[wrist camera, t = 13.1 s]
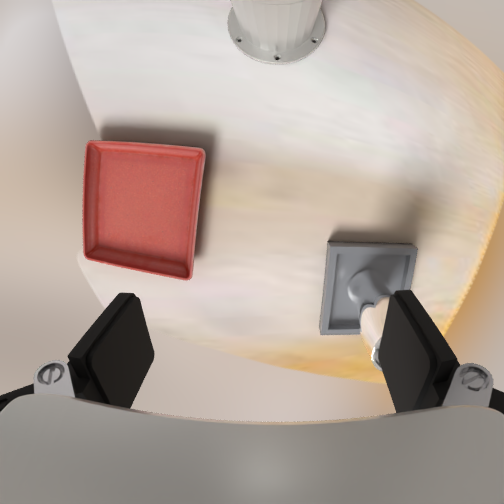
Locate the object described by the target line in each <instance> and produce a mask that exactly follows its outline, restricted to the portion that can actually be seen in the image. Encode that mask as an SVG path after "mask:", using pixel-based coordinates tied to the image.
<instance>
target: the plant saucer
mask: <svg viewBox="0 0 504 504" xmlns="http://www.w3.org/2000/svg"><path fill="white" fill-rule="evenodd" d="M205 158H206V153H205V151H204V149H202V148H198V147H188V146H177V145H166V144H153V143H139V142H123V141H100V140H90V141H88V142H87V144H86V147H85V159H84V176H83V210H82V211H83V219H82V220H83V253H84V256H85V258H86V259H88V260H91V261H96V262H100V263H104V264H108V265H113V266H117V267H121V268H127V269H131V270H136V271H141V272H145V273H151V274H156V275H161V276H165V277H170V278H175V279H180V280H190V279H191V278H192V275H193V263H194V252H195V241H196V231H197V222H198V212H199V203H200V195H201V187H202V179H203V172H204V165H205Z"/></svg>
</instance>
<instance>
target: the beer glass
mask: <svg viewBox="0 0 504 504" xmlns="http://www.w3.org/2000/svg"><path fill="white" fill-rule="evenodd" d="M393 294H394V292H393V291H392V290H390V289H389V287H388V285H387V281H386V279H385V277H384V275H383V274H382V273H381V272H379V271H377V270H374V269H366V270H362V271H360V272H358V273H357V274H355V275H354V276H353V278H352V279H351V280H350V282H349V285H348V296H349V299H350V300H351V302H352V303H353V304H354V305H355V306H356V308H357V315H358V325H359V330H360V334H361V338H362V341H363V343H364V346H365V348H366V350H367V352H368V354H369V356H370V358H371V360H372V362H373V364H374V366H375V367H376V368H377V369H378V370H380V371H382V368H381V366H380V363H379V360H378V350H379V346H380V342H381V337H382V333H383V328H384V324H385V319H386V314H387V309H388V303H389V298H390V295H393Z"/></svg>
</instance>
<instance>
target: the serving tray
mask: <svg viewBox="0 0 504 504" xmlns="http://www.w3.org/2000/svg"><path fill="white" fill-rule="evenodd" d="M417 250H418V249H417V248H416V247H415V246H414V245H413V244H404V243H373V242H337V241H328V243H327V255H326V267H325V278H324V288H323V297H322V306H321V315H320V323H319V329H320V335H356V334H360V330H359V325H358V315H357V308H356V306H355V305H354V304H353V303H352V302H351V300H350V299H349V296H348V285H349V282H350V280H351V279H352V278H353V276H354V275H355V274H357V273H358V272H360V271H362V270H366V269H374V270H377V271H379V272H381V273H382V274H383V275H384V277H385V279H386V281H387V285H388V287H389V289H390V290H392V291H393V292H394V293H395V291H396V290H410V287H411V282H412V277H413V272H414V267H415V262H416V256H417Z"/></svg>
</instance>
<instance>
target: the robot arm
mask: <svg viewBox="0 0 504 504" xmlns="http://www.w3.org/2000/svg"><path fill="white" fill-rule="evenodd" d="M231 3H232V6H233V7H232V8H231V10H230V13H229V16H228V31H229V34H230V37H231V39H232V41H233V43H234V44H235V45H236V46H237V48H238V49H239V50H240V51H241V52H243V53H244V54H245V55H247V56H248V57H250V58H252V59H254V60H257V61H259V62H263V63H268V64H279V65H280V64H289V63H293V62H297V61H299V60H301V59H304V58H306V57H307V56H309V55H310V54H311V53H313V52H314V51H315V49H316V48H317V47H318V46H319V44H320V42H321V41H322V38H323V36H324V32H325V20H324V16H323V13H322V11H321V9H320V6H321V3H322V0H231ZM239 40H242V41H241V42H238V41H239ZM312 41H315V42H316V43H313V42H312ZM275 58H279V60H276V59H275ZM68 358H69V362H68V363H67V364H66V363H65V362H63V361H60V360H53V361H49V362H47V363H44V364H43V365H41V366H40V367H39V368H38V369H37V370H36V372H35V374H34V384H31V385H28V386H25V387H23V388H20V389H17V390H14V391H12V392H9V393H6V394H3V395H1V396H0V504H504V392H501V391H499V390H496V389H494V388H493V378H492V375H491V374H490V372H489V371H488V370H487V369H486V368H484V367H483V366H480V365H478V364H474V363H467V364H463V365H461V366H460V364H459V362H458V361H457V358H456V356H455V354H454V353H453V351H452V350H451V348H450V347H449V345H448V343H447V342H446V340H445V339H444V337H443V336H442V334H441V333H440V331H439V330H438V328H437V327H436V325H435V324H434V322H433V321H432V319H431V318H430V316H429V315H428V313H427V312H426V310H425V309H424V308H423V306H422V305H421V303H420V302H419V301H418V299H417V298H416V296H415V295H414V294H413V292H412V291H411V290H396V291H395V293H394V294H393V295H390V298H389V303H388V309H387V314H386V319H385V324H384V328H383V333H382V337H381V342H380V346H379V350H378V360H379V363H380V366H381V368H382V371H383V374H384V377H385V380H386V383H387V386H388V388H389V391H390V394H391V397H392V400H393V403H394V406H395V410H396V413H394V414H387V415H379V416H370V417H361V418H351V419H340V420H325V421H303V422H250V421H227V420H213V419H202V418H192V417H182V416H174V415H166V414H159V413H153V412H146V411H140V410H135V409H130V408H131V406H132V404H133V401H134V399H135V397H136V395H137V393H138V391H139V389H140V387H141V384H142V383H143V380H144V378H145V376H146V374H147V372H148V370H149V368H150V366H151V364H152V362H153V360H154V350H153V346H152V343H151V339H150V336H149V332H148V328H147V325H146V321H145V317H144V314H143V310H142V306H141V302H140V299H139V298H138V297H136V296H135V294H134V293H119V294H118V295H117V296H116V297H115V299H114V300H113V301H112V302H111V303H110V304H109V306H108V307H107V308H106V309H105V310H104V311H103V313H102V314H101V315H100V316H99V317H98V319H97V320H96V321H95V322H94V324H93V325H92V326H91V327H90V329H89V330H88V331H87V332H86V333H85V335H84V336H83V337H82V338H81V340H80V341H79V342H78V343H77V344H76V346H75V347H74V348H73V349H72V351H71V352H70V353H69V355H68Z"/></svg>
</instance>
